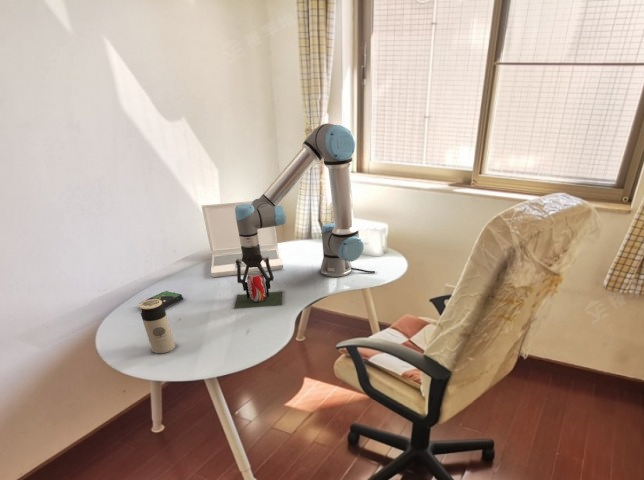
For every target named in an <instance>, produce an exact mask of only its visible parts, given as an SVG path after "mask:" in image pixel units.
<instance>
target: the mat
mask: <svg viewBox="0 0 644 480" xmlns="http://www.w3.org/2000/svg"><path fill="white" fill-rule="evenodd" d="M249 295H250V293H249ZM282 305H283V291H271V292H270V291H269V297H267V292H266V299H265V300H264V301H261V302H254V301H252V300H251V298H250V297H249V299H247V293H244V294H237V295H236V300H235V303H234V307H233V309H245V308H258V307H259V308H261V307H271V306H273V307H274V306H282Z"/></svg>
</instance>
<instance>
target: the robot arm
mask: <svg viewBox="0 0 644 480" xmlns="http://www.w3.org/2000/svg"><path fill="white" fill-rule="evenodd" d="M355 151H356V138H355V135H354V134H353V133H352V131H351V130H349V128H347V127H345V126H344V125H340V124H333V123H322V124H321V125H319V126H317V127H316V128H315V129H314V130H313V131H312V132H311V133H310V134H309V135H308V137H307V138H306V139H305V140H304V141H303V142H302V144H301V149H300V150H299V151H298V153H297V154H295V156H294V157H293V158H292V160H290V162H289V163H288V164H287V165H286V167H285V168H284V169H283V170H282V171H281V172H280V173H279V175H278V176H277V177H276V178H275V179H274V181H273V182H271V184H270V185H269V187H268V188H267V189H266V190H265V191H264V192H263V193H262V195H260V197H258V198H256V199H253V200H252V201H253V202H252V203H251V204H242V205H238V206H237V207H236V208H235V215H236V221H237V227H238V232H239V238H240V244H241V245H242V246H241V250H242V259H236V264H237V275H236V277H237V279H236V281H237V284H241V285H242V290H243V292H245V294H247V299H249V297H250V295H249V294H250V293H249V288H248V281H246V280H247V277H248V274H247V273H248V270H249V267H250V268H252V267H258V269H259V270H260V272H261V273H262V275H263V277H264V282H265V288H266V293H267V297H269V292H270V290H271V287H272V286H271V285H272V284H271V282H272V281H274V277H275V275H274V273H273V271H272V270H271V267H270V264H269V257H262V255H261V252H260V245H259V238H258V232H257V229H260V228H267V227H274V226H275V227H279V226H284V225H285V224H286V222H287V221H286V220H287V217H286V212H285V208H284V207H283V206H282V205H280V204H281V203H282V202H283V200H284V199H285V198H286V197H287V196H288V194H289V193H290V192H291V191H292V190H293V189H294V188H295V187H296V186H297V184H298V183H299V182H300V181H301V180H302V178H304V176H306V174H307V173H308V172H309V170H310V169H311V168H312V167H313V166H314V165H315V164H316V163H320V162H321V161H322V160H323V165H324V167H326V168H327V169H328V178H329V187H330V188H329V189H330V196H331V204H332V212H333V214H332V215H333V222H331V223H327V224H324V225H322V226H321V232H320V233H321V244H322V256H323V257H322V261H321V265H320V273H321V275H323V276H325V277H329V278H341V277H345V276H348V275H350V274H351V273H352V272H353V271H357V272H363V273H367V274H375V273H376V270H366V269H362V268H356V267H353V266H352V262H354V261H357V260H358V259H359V258H360V257H361V256H362V255H363V252H364V248H365V247H364V246H365V245H364V242H363V240H362V238H360V233H359V227H358V226H357V225H356V224H355V217H354V216H355V215H354V206H353V194H352V183H351V172H350V165H351V164H352V163H353V154H354V153H355ZM262 260H263V261H264V262H265V263H266V267H267V270H268V271H265V270H264V269H263V267H262V265H261V261H262ZM242 261H243V262H244V263H245V264H246V269H245V273H244V274H243V276H242V274H241V264H242ZM267 273H268V274H267Z"/></svg>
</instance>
